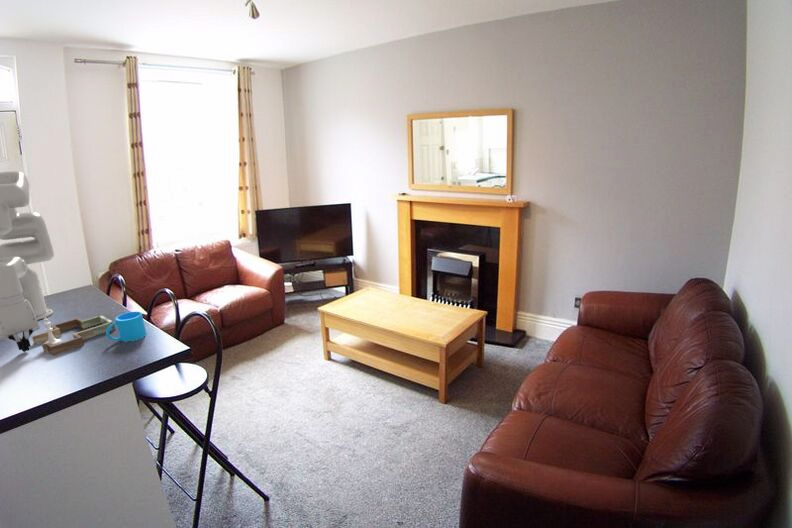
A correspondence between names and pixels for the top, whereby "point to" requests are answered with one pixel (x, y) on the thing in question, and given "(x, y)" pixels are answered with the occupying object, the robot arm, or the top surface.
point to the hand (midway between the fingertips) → (25, 350)
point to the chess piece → (50, 335)
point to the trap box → (77, 336)
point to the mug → (128, 326)
